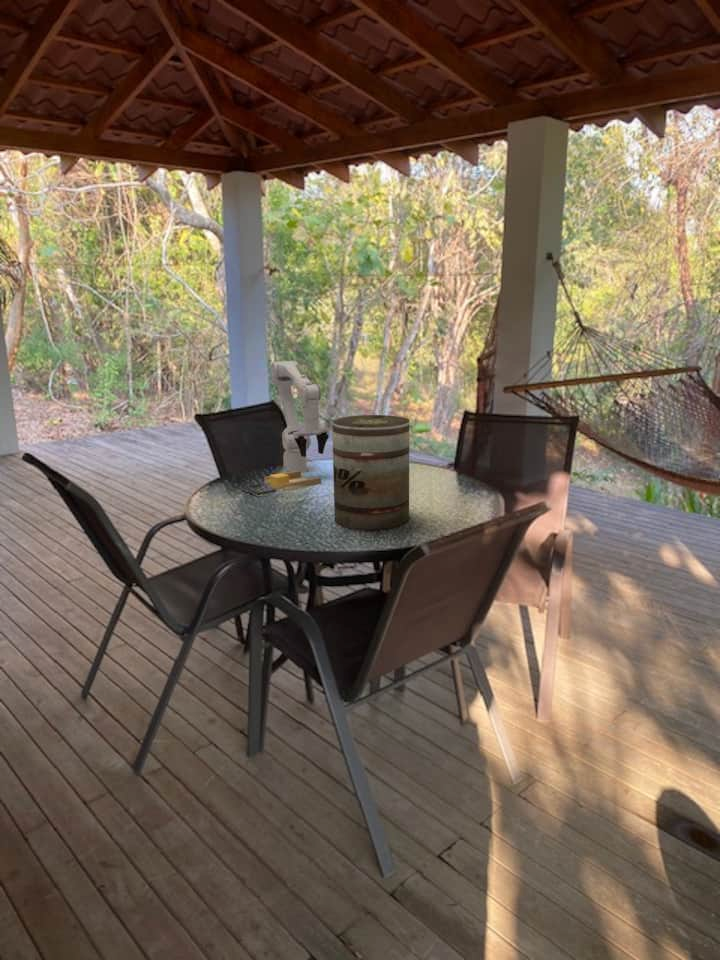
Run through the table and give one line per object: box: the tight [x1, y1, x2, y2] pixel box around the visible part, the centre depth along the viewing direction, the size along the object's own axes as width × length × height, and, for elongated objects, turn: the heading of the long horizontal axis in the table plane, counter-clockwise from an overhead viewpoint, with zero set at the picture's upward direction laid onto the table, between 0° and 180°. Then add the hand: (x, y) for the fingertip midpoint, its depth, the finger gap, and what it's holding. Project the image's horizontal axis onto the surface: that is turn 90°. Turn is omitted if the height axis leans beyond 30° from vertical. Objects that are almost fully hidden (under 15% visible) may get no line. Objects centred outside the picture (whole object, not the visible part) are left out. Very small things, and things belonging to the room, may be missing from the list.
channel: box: [263, 471, 322, 492], centre depth 241 cm, size 14×15×3 cm
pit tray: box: [241, 483, 276, 495], centre depth 233 cm, size 11×7×1 cm, turn 38°
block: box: [269, 472, 290, 489], centre depth 237 cm, size 5×5×4 cm
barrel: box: [331, 414, 410, 532], centre depth 197 cm, size 22×22×30 cm
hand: (312, 454), depth 245 cm, fingers open, 7 cm apart
